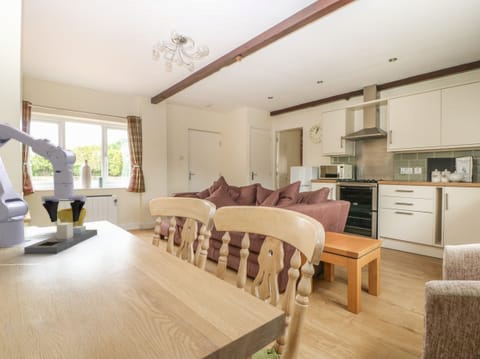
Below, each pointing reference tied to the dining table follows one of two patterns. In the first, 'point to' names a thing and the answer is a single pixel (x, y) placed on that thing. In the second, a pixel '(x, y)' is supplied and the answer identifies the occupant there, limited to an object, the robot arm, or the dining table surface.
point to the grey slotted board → (58, 243)
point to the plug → (64, 230)
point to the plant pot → (71, 216)
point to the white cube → (79, 229)
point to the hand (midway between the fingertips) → (65, 221)
